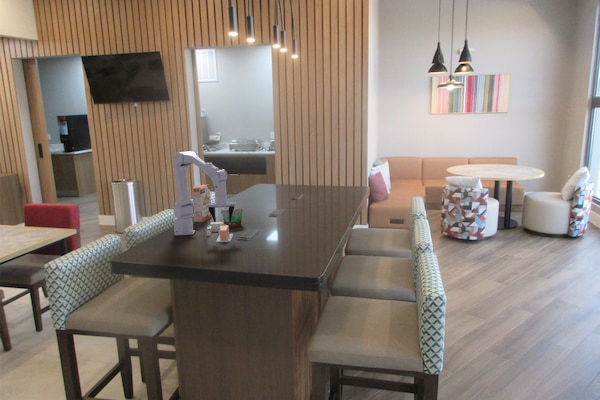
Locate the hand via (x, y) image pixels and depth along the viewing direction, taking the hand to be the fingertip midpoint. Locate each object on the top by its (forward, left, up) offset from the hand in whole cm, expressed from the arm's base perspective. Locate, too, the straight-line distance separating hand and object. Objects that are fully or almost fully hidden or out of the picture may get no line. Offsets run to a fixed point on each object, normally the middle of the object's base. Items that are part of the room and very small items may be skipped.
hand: (222, 221), depth 212 cm
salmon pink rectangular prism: (0, +2, -9) cm, 9 cm away
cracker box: (-19, +47, -10) cm, 52 cm away
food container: (+2, +26, -10) cm, 28 cm away
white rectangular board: (0, +2, -9) cm, 10 cm away
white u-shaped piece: (-6, +16, -9) cm, 20 cm away
